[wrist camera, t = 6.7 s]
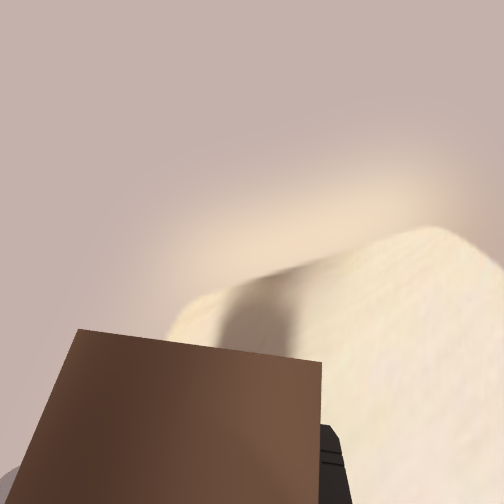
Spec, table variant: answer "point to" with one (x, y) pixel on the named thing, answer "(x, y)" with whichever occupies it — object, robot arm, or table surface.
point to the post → (174, 427)
